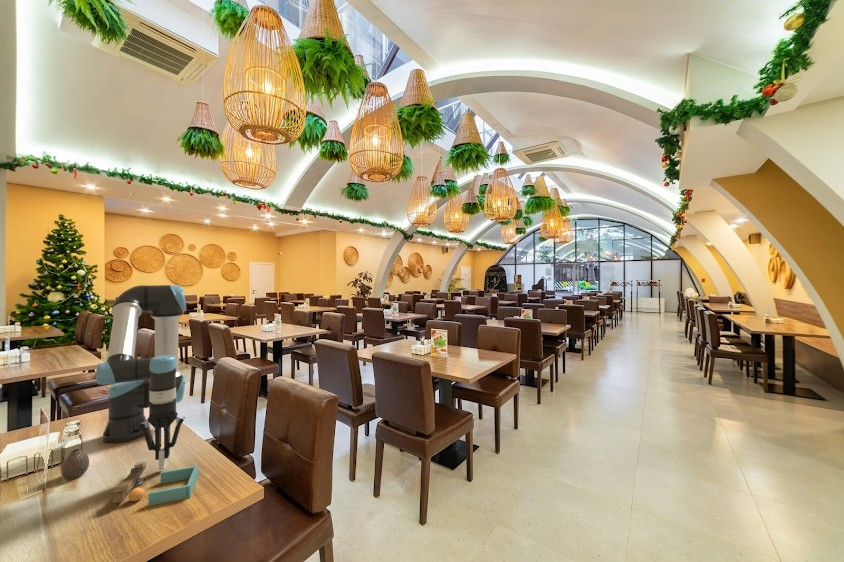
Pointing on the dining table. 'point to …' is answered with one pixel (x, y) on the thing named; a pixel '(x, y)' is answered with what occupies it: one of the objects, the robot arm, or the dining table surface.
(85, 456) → the vase
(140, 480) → the pivot base
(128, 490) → the lever
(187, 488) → the teal arch
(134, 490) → the ball
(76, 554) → the dining table surface
